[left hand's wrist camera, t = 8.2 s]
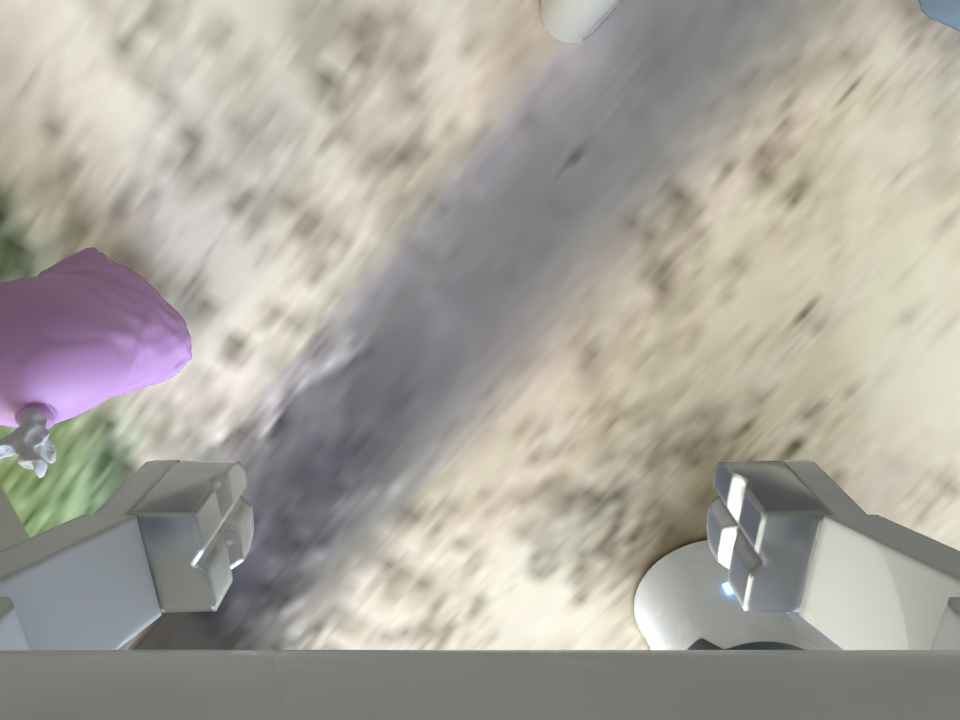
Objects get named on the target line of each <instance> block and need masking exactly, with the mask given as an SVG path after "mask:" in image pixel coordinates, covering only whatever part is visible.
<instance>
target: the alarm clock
mask: <svg viewBox="0 0 960 720" xmlns="http://www.w3.org/2000/svg"><path fill="white" fill-rule="evenodd" d="M919 1H920V5H921V10H922V11H923V12H924V13H925V14H926V15H927V16H929V17H930V18H931V19H933V20H935V21H938V22H940V23H942V24H945V25H947V26H950V27H952V28H954V29H957V30H959V31H960V0H919Z"/></svg>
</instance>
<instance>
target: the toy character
mask: <svg viewBox="0 0 960 720" xmlns="http://www.w3.org/2000/svg"><path fill="white" fill-rule="evenodd" d="M191 349H192V347H191V337H190V334H189V332H188V330H187V327H186V323H185V321H184V320H183V318H182V317H181V316H180V315H179V314H178V312H177V311H176V310H174V309H173V308H172V307H171V305H170V304H168V303H167V302H166V301H165V300H164V299H163V298H162V296H161V295H160V294H159V293H158V292H157V291H155V290H154V289H153V288H152V287H151V286H150V285H149V283H148V282H147V281H146V280H145V279H143V278H142V277H141V276H140V275H138V274H137V273H135V272H134V271H132V270H130V269H128V268H126V267H123V266H121V265H118V264H116V263H114V262H112V261H110V260H109V259H108V258H107V257H106V256H105V255H104V254H103V253H101V252H99V251H98V250H97V249H95V248H86V249H84V250H82V251H80V252H78V253H75V254H73V255H71V256H69V257H68V258H66V259H64V260H62V261H60V262H58V263H56V264H55V265H53V266H52V267H50V268H48V269H46V270H44V271H42V272H41V273H40V274H39V275H38V276H37V277H27V278H21V279H16V280H12V281H7V282H1V283H0V425H4V426H10V427H18V428H17V429H16V430H14V431H13V432H12V433H11V434H10V435H8V436H6V437H5V438H3V439H1V440H0V459H1V458H4V457H9V456H12V455H14V454H18V463H19V464H20V465H21V466H23V467H24V468H26V469H34V471H35V473H36V474H37V476H38V477H39V478H41V477H43V476H44V475H45V473H46V470H47V463H46V461H47V462H49V463H54V462H55V461H56V449H55V446H54V444H53V443H52V442H51V441H50V440H49V439H48V437H49V434H50V432H49V431H48V429H49V428H50V427H51V426H52V425H53V424H54V423H58V422H61V421H64V420H67V419H70V418H72V417H75V416H77V415H79V414H81V413H83V412H85V411H87V410H90V409H92V408H94V407H96V406H98V405H99V404H101V403H102V402H103V401H105V400H106V399H107V398H111V397H115V396H119V395H122V394H126V393H128V392H132V391H135V390H138V389H141V388H144V387H147V386H149V385H153V384H156V383H160V382H163V381H166V380H168V379H170V378H171V377H173V376H175V375H176V374H177V373H178V372H180V371H181V369H182V368H183V367H184V365H185V364H186V363H187V362H188V361H189V360H191V359H192V354H191ZM37 446H39V453H40V455H41V456H42V457H43V458H42V457H41V456H39V455H38V453H37V452H36V447H37Z"/></svg>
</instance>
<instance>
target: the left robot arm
mask: <svg viewBox="0 0 960 720" xmlns="http://www.w3.org/2000/svg"><path fill="white" fill-rule="evenodd" d="M247 485H248V481H247V477H246V472H245V467H244V466H243V465H242V464H241V463H240V462H236V461H184V460H183V461H180V460H154V461H149V462H146V463H145V464H144V465H143V466H142V467H141V468H140V469H139V470H138V471H137V472H136V473H135V474H134V475H133V476H131V477H130V478H129V479H128V480H127V481H126V482H125V483H124V484H123V485H122V486H121V487H120V488H119V489H118V490H117V491H116V492H115V493H114V494H113V495H112V496H111V497H110V498H109V499H108V500H107V501H106V502H105V503H104V504H103V505H102V506H101V507H100V508H99V509H98V510H97V511H96V512H95V513H94V514H93V515H81V516H79V517H77V518H75V519H72V520H70V521H68V522H65V523H63V524H61V525H59V526H56V527H54V528H52V529H50V530H47V531H45V532H43V533H40V534H38V535H36V536H34V537H31V538H29V539H27V540H25V541H22V542H20V543H18V544H15V545H13V546H11V547H9V548H6V549H4V550H2V551H0V720H960V551H958V550H956V549H954V548H951V547H949V546H947V545H944V544H942V543H940V542H938V541H935V540H933V539H931V538H929V537H926V536H924V535H922V534H919V533H917V532H915V531H913V530H910V529H908V528H906V527H904V526H901V525H899V524H897V523H894V522H892V521H890V520H888V519H885V518H883V517H881V516H879V515H867V514H866V513H865V512H864V511H863V510H862V509H861V508H860V507H859V506H858V505H857V504H856V503H855V502H854V501H853V500H852V499H851V498H850V497H849V496H848V495H847V494H846V493H845V492H844V491H843V490H842V489H841V488H840V487H839V486H838V485H837V484H836V483H835V482H834V481H833V480H832V479H831V478H830V477H829V476H828V475H827V474H826V473H825V472H824V471H823V470H822V469H821V468H820V467H819V466H818V465H817V464H815V463H814V462H811V461H809V460H789V461H753V462H721V463H718V464H717V467H716V469H715V471H714V476H713V481H712V485H713V486H714V488H715V489H716V491H717V493H718V494H719V496H718V497H717V498H716V499H715V500H714V501H713V502H712V503H711V504H710V505H709V506H708V512H707V519H706V528H707V539H708V540H704V541H699V542H695V543H691V544H688V545H685V546H683V547H680V548H678V549H676V550H674V551H672V552H670V553H669V554H667V555H666V556H664V557H663V558H661V559H660V560H659V561H658V562H656V563H655V564H654V565H653V566H652V567H651V568H650V569H649V570H648V572H647V573H646V574H645V576H644V577H643V579H642V580H641V582H640V584H639V586H638V588H637V591H636V595H635V599H634V614H635V619H636V622H637V625H638V627H639V629H640V630H641V632H642V634H643V635H644V637H645V639H646V640H647V642H648V644H649V646H650V650H117V649H119V648H120V647H121V646H122V645H124V644H125V643H126V642H128V641H129V640H130V639H131V638H133V637H134V636H135V635H137V634H138V633H139V632H140V631H142V630H143V629H144V628H145V627H147V626H148V625H149V624H151V623H152V622H153V621H154V620H156V619H157V618H158V617H160V616H161V612H193V611H216V610H217V608H218V606H219V604H220V603H221V601H222V599H223V597H224V595H225V594H226V592H227V590H228V588H229V586H230V585H231V583H232V581H233V578H232V573H231V569H232V568H234V567H235V566H237V565H238V564H240V563H241V562H243V561H244V559H245V557H246V555H247V553H248V551H249V549H250V545H251V541H252V537H253V532H254V517H253V511H252V506H251V505H250V504H249V503H248V502H247V501H246V500H245V499H244V498H243V497H242V496H241V494H242V493H243V491H244V489H245V488H246V486H247Z"/></svg>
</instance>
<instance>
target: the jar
mask: <svg viewBox="0 0 960 720" xmlns="http://www.w3.org/2000/svg"><path fill="white" fill-rule="evenodd" d="M621 1H622V0H540V4H539V13H540V19H541V22H542V24H543V26H544V28H545V30H546V31H547V32H548V34H549V35H550V36H551V37H553V38H554V39H556V40H558V41H560V42H563V43H577V42H581V41H583V40H585V39H586V38H588V37H589V36H591V35H592V34H593V33H594V32H595V30H596V29H597V28H598V27H599V26H600V25H601V24H602V23H603V22H604V20H605V19H606V18H607V17H608V16H609V15H610V14H611V13H612V11H613V10H614V9H615V8H616V7H617V6H618V5H619V4H620V2H621Z"/></svg>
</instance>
